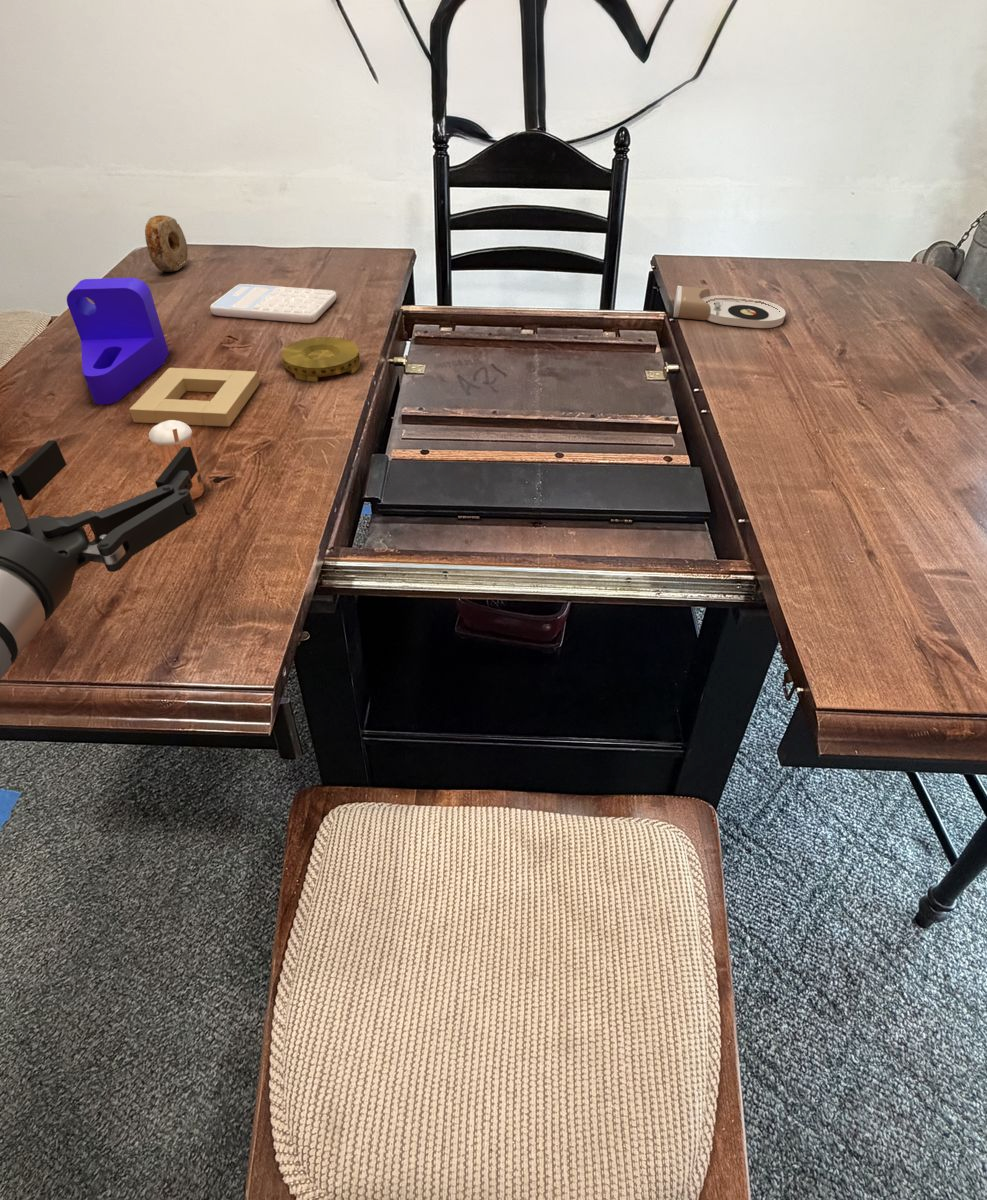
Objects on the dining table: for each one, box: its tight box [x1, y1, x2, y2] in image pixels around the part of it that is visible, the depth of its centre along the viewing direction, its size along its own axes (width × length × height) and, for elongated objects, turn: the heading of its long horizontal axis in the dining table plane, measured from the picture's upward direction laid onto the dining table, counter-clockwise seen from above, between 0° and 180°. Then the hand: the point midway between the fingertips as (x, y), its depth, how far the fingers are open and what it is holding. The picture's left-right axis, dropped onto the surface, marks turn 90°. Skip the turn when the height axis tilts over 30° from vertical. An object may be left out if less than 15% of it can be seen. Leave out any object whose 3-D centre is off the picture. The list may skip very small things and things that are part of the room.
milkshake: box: [148, 420, 204, 501], centre depth 82 cm, size 4×5×10 cm
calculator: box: [209, 283, 338, 324], centre depth 132 cm, size 13×20×2 cm, turn 80°
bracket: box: [66, 277, 170, 406], centre depth 105 cm, size 18×11×12 cm, turn 7°
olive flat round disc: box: [281, 336, 361, 382], centre depth 113 cm, size 12×12×2 cm
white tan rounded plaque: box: [673, 285, 787, 329], centre depth 132 cm, size 12×3×20 cm
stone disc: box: [144, 214, 189, 273], centre depth 144 cm, size 10×4×10 cm, turn 169°
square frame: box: [128, 367, 261, 428], centre depth 103 cm, size 14×14×2 cm
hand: (124, 455), depth 71 cm, fingers open, 13 cm apart
